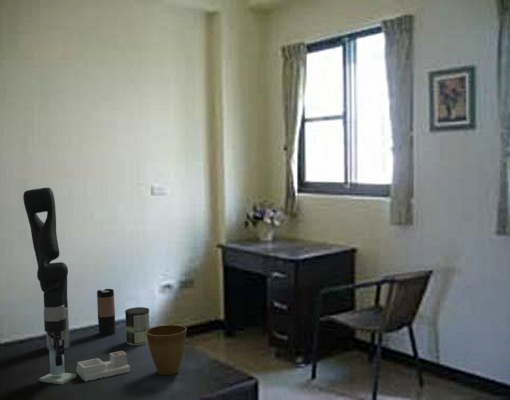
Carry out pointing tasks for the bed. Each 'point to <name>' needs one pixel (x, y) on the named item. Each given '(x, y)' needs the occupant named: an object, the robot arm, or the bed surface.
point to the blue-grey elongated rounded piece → (53, 368)
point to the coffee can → (137, 325)
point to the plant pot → (167, 347)
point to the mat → (57, 378)
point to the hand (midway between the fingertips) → (57, 363)
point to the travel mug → (106, 312)
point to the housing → (103, 367)
